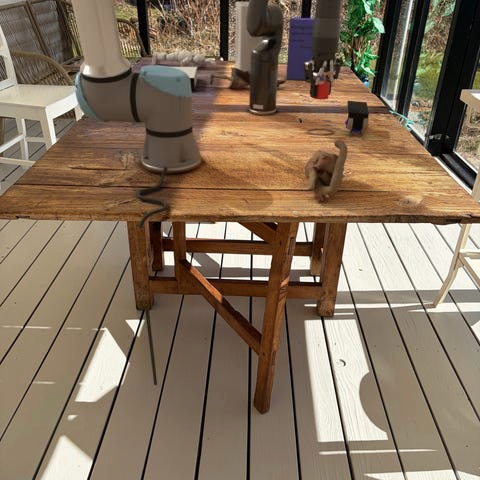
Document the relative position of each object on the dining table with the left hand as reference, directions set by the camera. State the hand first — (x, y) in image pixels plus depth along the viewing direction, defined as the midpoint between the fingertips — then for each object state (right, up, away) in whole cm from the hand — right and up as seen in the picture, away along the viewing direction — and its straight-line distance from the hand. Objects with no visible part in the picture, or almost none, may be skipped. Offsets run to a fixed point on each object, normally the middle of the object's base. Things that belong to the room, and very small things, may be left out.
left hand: (148, 0), depth 141 cm
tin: (+51, -28, +1) cm, 58 cm away
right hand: (+51, -28, +1) cm, 58 cm away
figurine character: (+63, -37, +7) cm, 73 cm away
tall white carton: (+33, +6, +77) cm, 84 cm away
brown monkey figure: (+46, -59, -30) cm, 81 cm away
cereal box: (+56, -1, +67) cm, 87 cm away
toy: (+1, +11, +85) cm, 86 cm away
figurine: (+30, -10, +51) cm, 60 cm away
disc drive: (0, -7, +55) cm, 55 cm away
